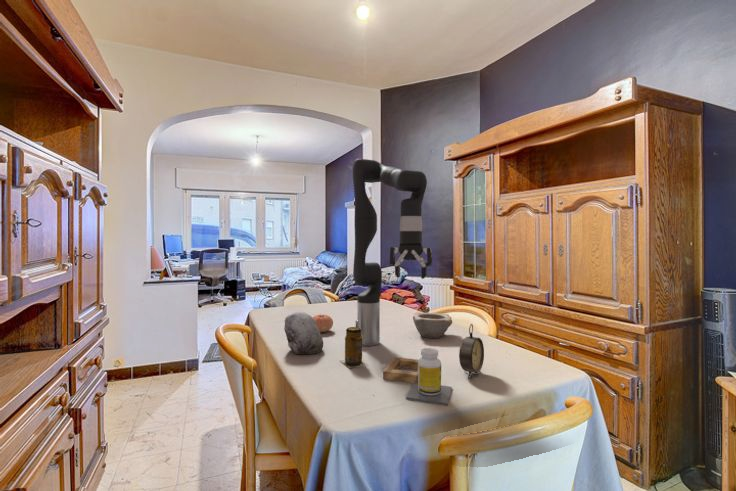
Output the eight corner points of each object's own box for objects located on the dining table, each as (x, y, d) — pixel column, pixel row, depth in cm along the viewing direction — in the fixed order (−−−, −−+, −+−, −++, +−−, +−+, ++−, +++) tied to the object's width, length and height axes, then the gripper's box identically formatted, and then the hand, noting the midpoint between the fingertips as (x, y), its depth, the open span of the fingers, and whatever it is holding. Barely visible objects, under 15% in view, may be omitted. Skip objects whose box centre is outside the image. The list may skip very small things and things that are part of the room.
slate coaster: (406, 399, 99) (406, 397, 99) (414, 383, 110) (414, 381, 110) (447, 405, 96) (447, 403, 96) (451, 388, 106) (451, 386, 106)
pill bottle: (441, 397, 99) (441, 355, 99) (417, 395, 100) (417, 353, 100) (441, 387, 105) (441, 347, 105) (418, 385, 107) (418, 346, 106)
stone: (324, 355, 136) (324, 315, 136) (284, 357, 133) (283, 316, 133) (321, 345, 148) (321, 308, 148) (284, 347, 145) (284, 309, 145)
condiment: (358, 358, 133) (358, 325, 132) (368, 365, 125) (368, 330, 125) (339, 361, 130) (339, 327, 129) (349, 369, 122) (349, 333, 122)
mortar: (449, 331, 169) (450, 312, 169) (452, 342, 153) (452, 320, 152) (413, 330, 172) (413, 310, 172) (412, 340, 155) (412, 318, 155)
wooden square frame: (383, 378, 114) (383, 371, 113) (394, 363, 127) (394, 356, 127) (424, 384, 109) (424, 376, 109) (432, 368, 123) (432, 361, 122)
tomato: (331, 334, 164) (331, 317, 164) (307, 334, 164) (307, 317, 164) (334, 328, 175) (334, 312, 174) (311, 328, 175) (311, 311, 175)
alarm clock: (472, 381, 112) (473, 328, 111) (455, 377, 115) (456, 326, 114) (485, 371, 120) (485, 322, 120) (469, 367, 123) (469, 319, 123)
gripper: (387, 230, 122) (387, 278, 123) (430, 229, 118) (429, 280, 118) (393, 230, 130) (393, 275, 130) (433, 230, 125) (433, 277, 125)
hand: (410, 277), depth 124 cm, fingers open, 8 cm apart
